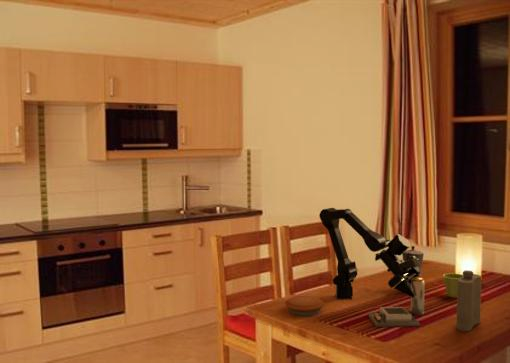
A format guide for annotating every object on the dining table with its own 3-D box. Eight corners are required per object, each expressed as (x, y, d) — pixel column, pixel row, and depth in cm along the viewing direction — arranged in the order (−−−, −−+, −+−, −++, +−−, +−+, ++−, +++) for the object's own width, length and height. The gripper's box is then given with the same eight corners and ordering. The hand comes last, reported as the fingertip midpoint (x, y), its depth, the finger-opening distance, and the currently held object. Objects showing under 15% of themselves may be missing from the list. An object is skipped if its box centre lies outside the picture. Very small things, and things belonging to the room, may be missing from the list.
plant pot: (441, 297, 233) (442, 277, 232) (443, 291, 242) (443, 272, 241) (465, 299, 229) (465, 279, 229) (465, 293, 238) (466, 274, 237)
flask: (465, 318, 206) (467, 266, 205) (481, 321, 203) (483, 268, 201) (452, 329, 195) (453, 274, 193) (469, 332, 191) (470, 276, 189)
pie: (302, 303, 227) (302, 291, 227) (331, 311, 216) (331, 299, 215) (276, 311, 216) (276, 299, 216) (306, 321, 205) (306, 308, 205)
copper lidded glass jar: (413, 314, 210) (413, 279, 209) (409, 310, 215) (409, 276, 214) (425, 314, 211) (426, 279, 209) (421, 310, 216) (422, 276, 214)
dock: (376, 326, 198) (376, 317, 197) (368, 316, 210) (368, 307, 209) (419, 326, 198) (419, 316, 198) (409, 315, 210) (409, 306, 210)
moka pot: (426, 287, 248) (426, 244, 246) (420, 296, 234) (419, 250, 233) (405, 285, 252) (404, 242, 251) (397, 294, 238) (397, 249, 237)
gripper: (395, 254, 207) (423, 287, 201) (415, 246, 221) (442, 277, 215) (376, 271, 213) (403, 304, 207) (397, 262, 227) (423, 293, 221)
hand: (418, 294), depth 212 cm, fingers open, 9 cm apart
